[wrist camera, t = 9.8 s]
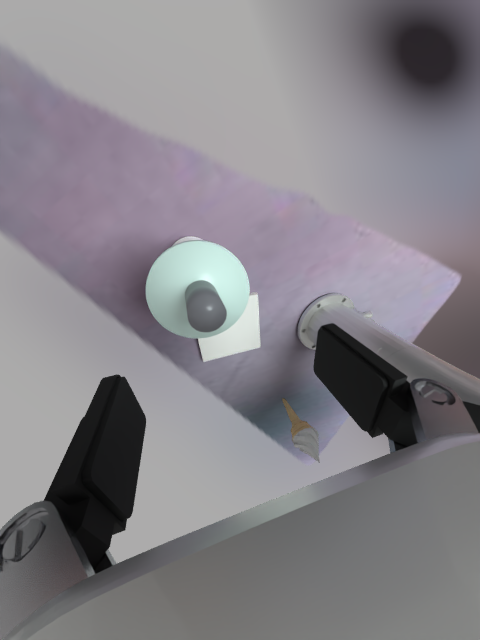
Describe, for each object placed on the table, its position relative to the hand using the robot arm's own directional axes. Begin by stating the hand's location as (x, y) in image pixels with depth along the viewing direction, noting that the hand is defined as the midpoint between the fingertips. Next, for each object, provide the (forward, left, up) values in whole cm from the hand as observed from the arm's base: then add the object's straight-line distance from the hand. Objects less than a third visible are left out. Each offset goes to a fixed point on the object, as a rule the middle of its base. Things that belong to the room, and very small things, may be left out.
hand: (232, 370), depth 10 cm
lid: (0, 0, -11) cm, 11 cm away
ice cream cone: (-15, +36, -23) cm, 45 cm away
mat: (-4, +12, -23) cm, 26 cm away
